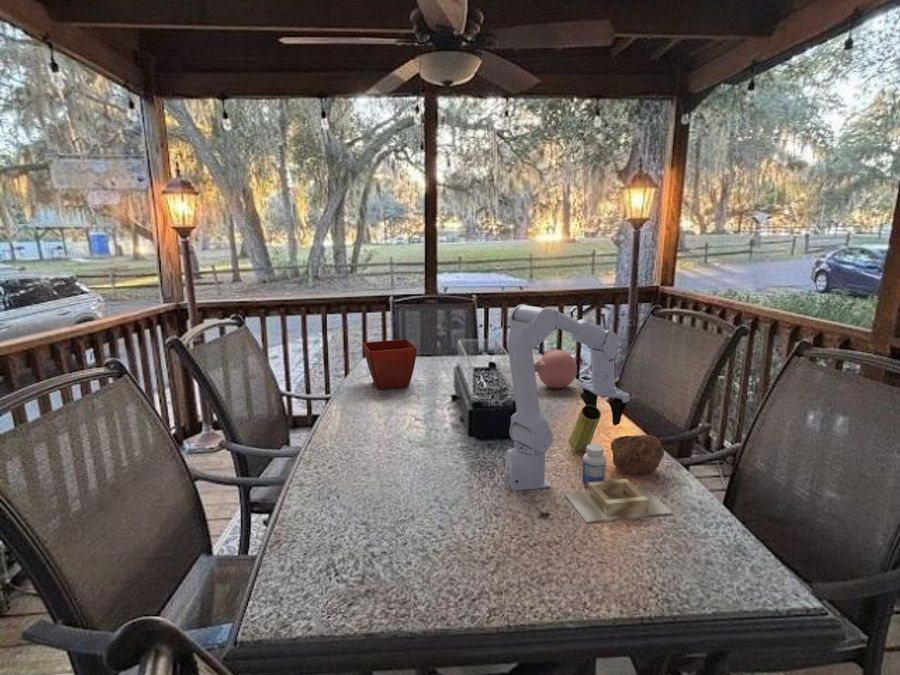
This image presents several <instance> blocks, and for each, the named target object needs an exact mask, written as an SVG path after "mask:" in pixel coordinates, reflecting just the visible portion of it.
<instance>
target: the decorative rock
mask: <svg viewBox="0 0 900 675" xmlns="http://www.w3.org/2000/svg"><path fill="white" fill-rule="evenodd" d="M610 450H611V451H612V463H613V466H615V468H616V469H617V470H618V471H620V472H622V473H623V474H625V475H630V474H632V475H634V474H635V475H636V476H637V475H644V474H645V473H647V474H652V473H655V471H656V470H657V469H658V467H659V465H660V463H661V461H662V459H663V457H664V455H665V451H664V447H663V445H662V442H661V441H660V440H659V439H658V438H657V437H656V436H654V435H651V434H641V435H624V436H619V437H617V438H614V439H612V442H611V443H610Z"/></svg>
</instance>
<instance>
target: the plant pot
mask: <svg viewBox="0 0 900 675" xmlns="http://www.w3.org/2000/svg"><path fill="white" fill-rule="evenodd" d="M362 344H363V345H362V346H363V351H364V355H365V360H366V363H367V368H368V371H369V373H370V376H371V379H372V382H373V384H374V385H375V387H376V389H378V390H387V389H398V388H407V387H409V386H410V383H411V381H412V378H413V373H414V369H415V364H416V358H417V350H418V347H417V346H416V345H415V344H413V342H411V341H410V340H409V339H404V338H403V339H393V340H391V339H390V340H380V341H379V340H378V341H367V342H363V343H362Z"/></svg>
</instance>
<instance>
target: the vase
mask: <svg viewBox="0 0 900 675" xmlns="http://www.w3.org/2000/svg"><path fill="white" fill-rule="evenodd" d="M601 416H602V413H601V411H600V409H599V408H598V407H595V406H593V405H584V406H583V407H581V410H580V413H579V414H578V418H577V420H576V423H575V425H574V427H573V430H572V432H571V434H570V436H569V438H568V444H569V446H570V448H572V449H573V450H574V451H575V452H579V453H584V452H586V447H587V445H590V444H592V441H593V438H594V436H595V433H596V431H597V430H596V429H597V428H598V425H599V422H600V419H601Z"/></svg>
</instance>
